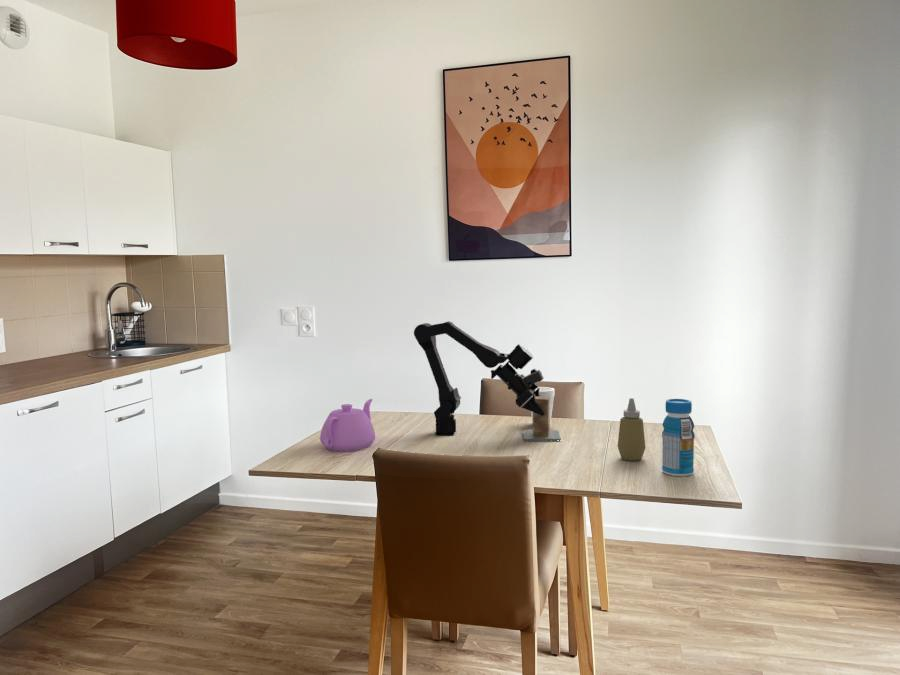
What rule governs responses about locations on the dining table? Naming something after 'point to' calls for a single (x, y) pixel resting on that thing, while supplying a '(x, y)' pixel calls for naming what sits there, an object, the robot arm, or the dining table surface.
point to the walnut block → (542, 418)
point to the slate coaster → (552, 436)
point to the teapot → (348, 429)
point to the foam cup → (546, 393)
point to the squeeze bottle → (631, 434)
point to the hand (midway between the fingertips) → (545, 411)
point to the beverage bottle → (678, 438)
